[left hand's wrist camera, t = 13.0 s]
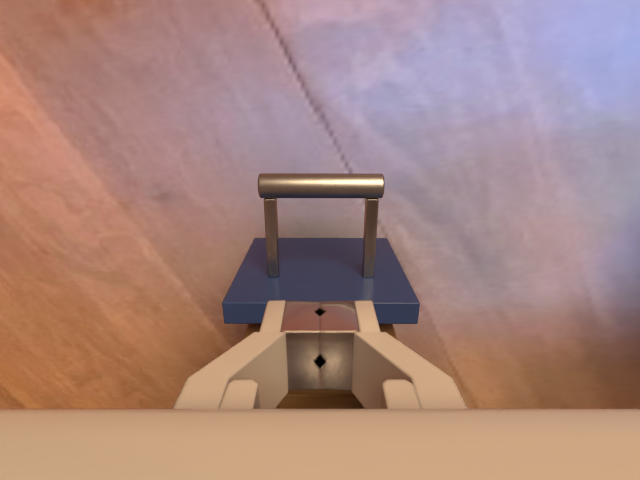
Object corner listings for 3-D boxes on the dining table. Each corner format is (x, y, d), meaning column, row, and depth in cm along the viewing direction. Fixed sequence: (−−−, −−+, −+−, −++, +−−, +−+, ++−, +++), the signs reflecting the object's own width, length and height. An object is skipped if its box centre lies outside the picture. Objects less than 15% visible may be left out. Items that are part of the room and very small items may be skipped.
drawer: (248, 157, 23) (208, 185, 15) (392, 157, 23) (434, 186, 15) (264, 391, 30) (243, 500, 22) (375, 391, 30) (397, 500, 22)
